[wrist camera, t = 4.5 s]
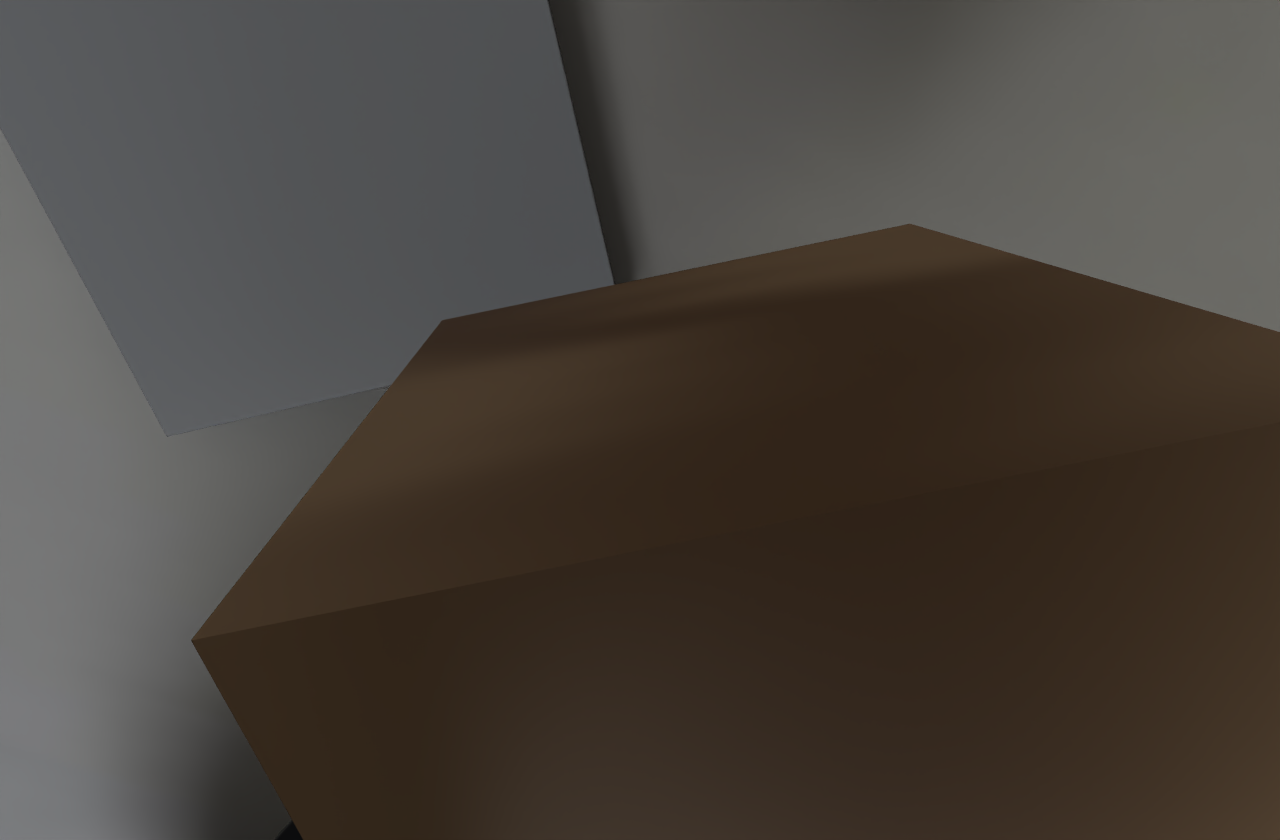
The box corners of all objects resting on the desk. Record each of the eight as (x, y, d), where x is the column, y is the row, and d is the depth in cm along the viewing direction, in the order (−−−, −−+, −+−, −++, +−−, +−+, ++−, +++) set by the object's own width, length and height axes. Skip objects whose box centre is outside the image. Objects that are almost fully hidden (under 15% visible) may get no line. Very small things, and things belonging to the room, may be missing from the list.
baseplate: (193, 417, 17) (166, 436, 16) (-77, -107, 13) (-139, -130, 12) (622, 318, 17) (624, 331, 16) (489, -251, 13) (480, -286, 12)
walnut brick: (587, 785, 10) (583, 1337, 5) (441, 320, 7) (190, 639, 3) (928, 718, 10) (1218, 1221, 5) (909, 223, 7) (1460, 386, 3)
